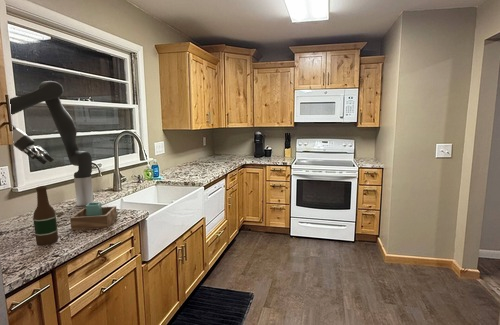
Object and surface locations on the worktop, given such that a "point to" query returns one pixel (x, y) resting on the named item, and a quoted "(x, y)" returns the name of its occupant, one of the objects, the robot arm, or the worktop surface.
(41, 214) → the beer bottle
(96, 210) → the teal rectangular block
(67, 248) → the worktop surface
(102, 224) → the walnut crate
